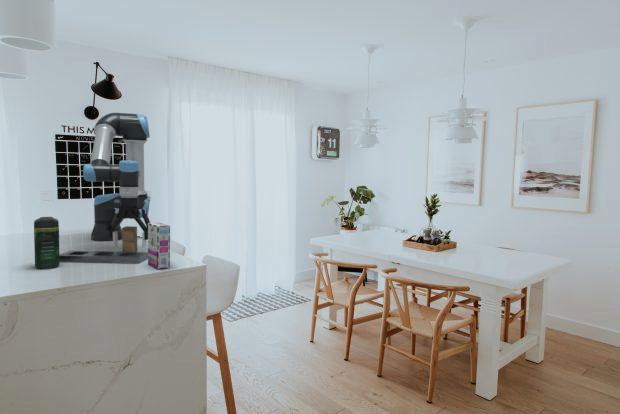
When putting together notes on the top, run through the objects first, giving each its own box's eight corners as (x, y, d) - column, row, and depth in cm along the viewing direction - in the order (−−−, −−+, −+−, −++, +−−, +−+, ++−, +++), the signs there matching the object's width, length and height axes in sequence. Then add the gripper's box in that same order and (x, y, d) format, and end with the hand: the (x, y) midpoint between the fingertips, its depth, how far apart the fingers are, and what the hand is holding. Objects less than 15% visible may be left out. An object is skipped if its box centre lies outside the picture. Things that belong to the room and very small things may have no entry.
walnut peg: (126, 253, 178) (126, 226, 177) (137, 253, 178) (137, 226, 177) (122, 255, 174) (122, 227, 172) (133, 255, 174) (132, 228, 173)
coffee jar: (60, 267, 151) (59, 218, 149) (34, 270, 146) (33, 219, 145) (59, 262, 159) (58, 215, 157) (35, 264, 154) (33, 216, 153)
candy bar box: (170, 268, 155) (170, 225, 153) (157, 269, 152) (157, 226, 150) (160, 262, 163) (159, 222, 162) (147, 264, 160) (147, 222, 159)
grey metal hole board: (70, 256, 169) (70, 250, 169) (148, 258, 170) (148, 252, 170) (56, 261, 159) (56, 255, 159) (138, 263, 160) (138, 257, 160)
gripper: (96, 196, 170) (97, 248, 172) (154, 198, 170) (154, 249, 172) (105, 195, 177) (105, 244, 179) (160, 197, 178) (160, 246, 180)
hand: (129, 247), depth 176 cm, fingers open, 12 cm apart
